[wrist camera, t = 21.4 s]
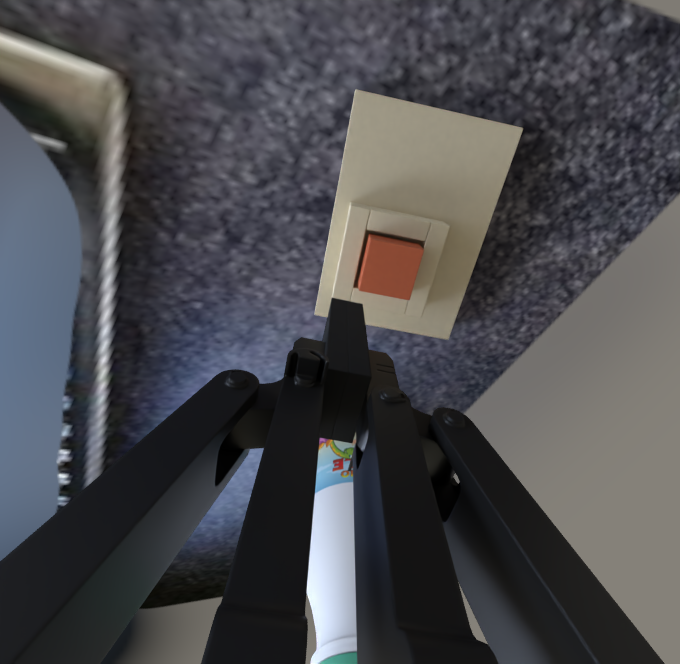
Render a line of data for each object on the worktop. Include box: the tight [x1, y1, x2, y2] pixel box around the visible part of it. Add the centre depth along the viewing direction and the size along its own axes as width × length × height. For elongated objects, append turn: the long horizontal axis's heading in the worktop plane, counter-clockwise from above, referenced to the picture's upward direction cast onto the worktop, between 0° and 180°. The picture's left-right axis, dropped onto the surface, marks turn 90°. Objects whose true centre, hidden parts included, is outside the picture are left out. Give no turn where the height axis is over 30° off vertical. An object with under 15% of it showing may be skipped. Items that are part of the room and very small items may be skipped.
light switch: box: [315, 89, 523, 340], centre depth 25 cm, size 14×10×4 cm
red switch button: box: [358, 234, 424, 300], centre depth 23 cm, size 3×3×2 cm
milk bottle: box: [306, 433, 357, 664], centre depth 24 cm, size 8×8×20 cm
